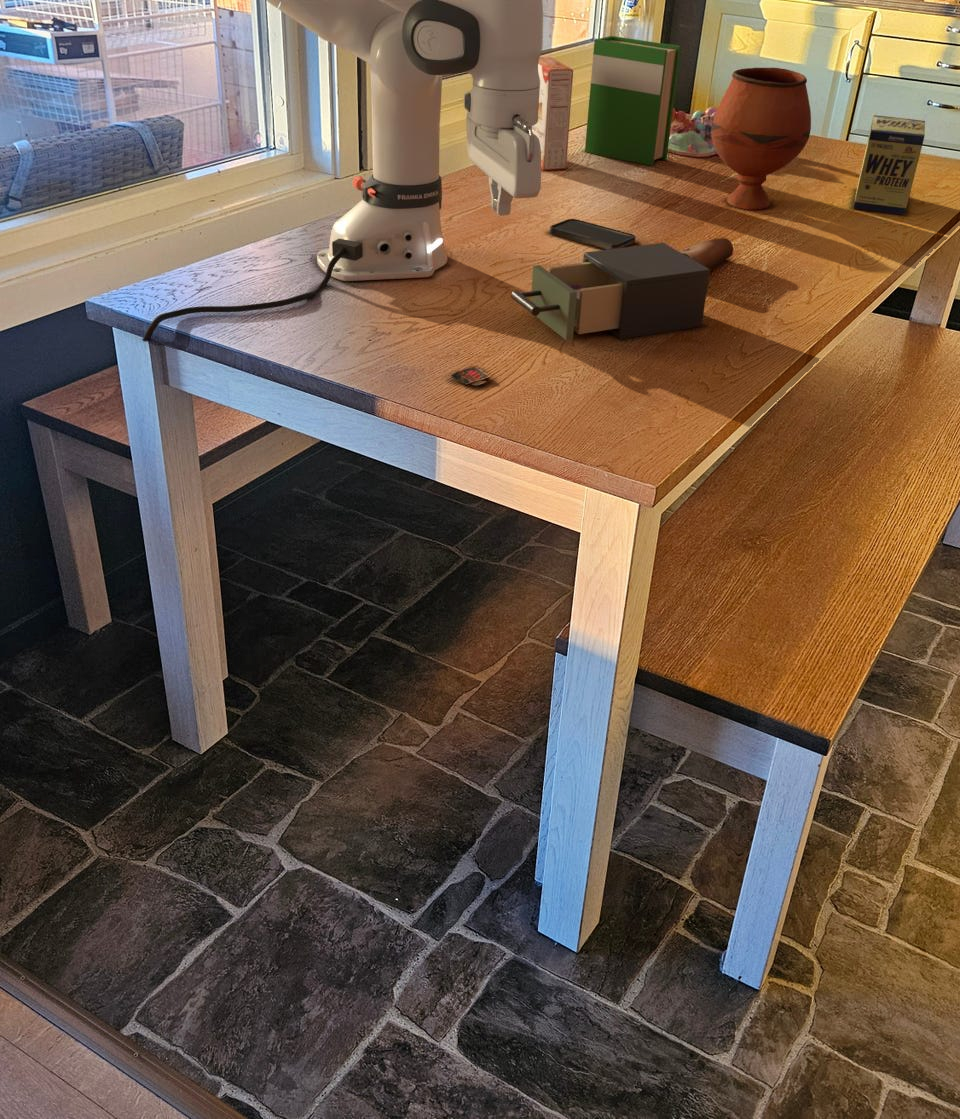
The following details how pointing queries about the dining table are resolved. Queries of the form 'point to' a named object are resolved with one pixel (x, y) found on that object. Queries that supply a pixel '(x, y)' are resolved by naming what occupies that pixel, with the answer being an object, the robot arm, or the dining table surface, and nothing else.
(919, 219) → the dining table surface
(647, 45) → the hardback book
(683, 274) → the black storage box
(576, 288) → the beige rectangular block
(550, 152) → the cracker box
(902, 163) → the protein box
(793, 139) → the goblet
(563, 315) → the drawer
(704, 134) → the candy landscape model
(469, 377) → the matchbox
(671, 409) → the dining table surface
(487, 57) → the robot arm
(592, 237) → the phone
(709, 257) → the sunglasses case
